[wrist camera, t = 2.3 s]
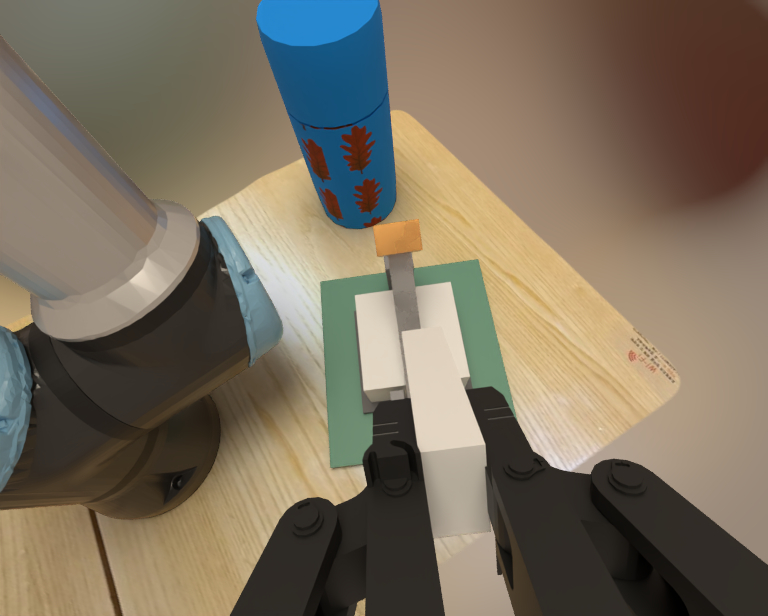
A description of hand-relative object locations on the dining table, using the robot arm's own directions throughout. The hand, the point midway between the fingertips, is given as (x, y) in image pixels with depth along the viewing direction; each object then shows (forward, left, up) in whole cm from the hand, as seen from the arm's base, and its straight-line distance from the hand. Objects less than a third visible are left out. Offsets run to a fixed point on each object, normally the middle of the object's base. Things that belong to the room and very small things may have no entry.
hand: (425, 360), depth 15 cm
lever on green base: (0, +9, -30) cm, 31 cm away
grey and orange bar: (0, +9, -18) cm, 20 cm away
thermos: (-4, +33, -30) cm, 45 cm away
